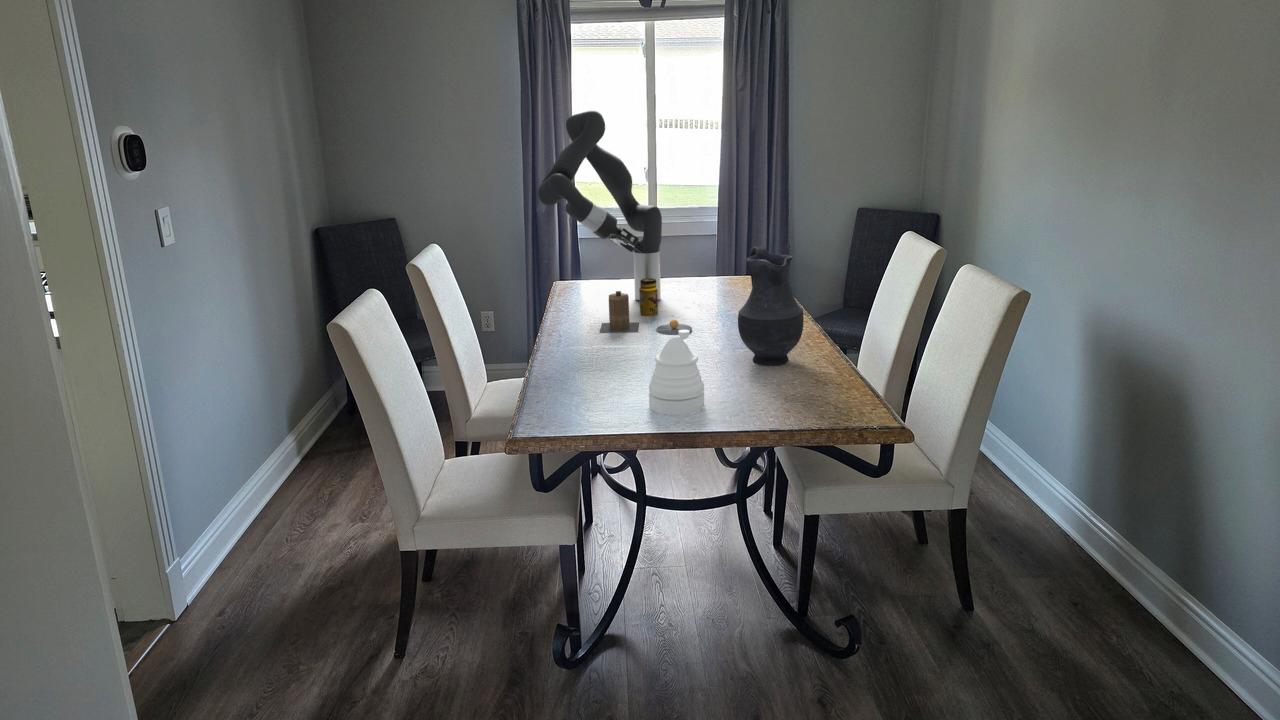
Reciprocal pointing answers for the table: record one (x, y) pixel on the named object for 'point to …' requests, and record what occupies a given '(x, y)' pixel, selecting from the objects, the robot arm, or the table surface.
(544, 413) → the table surface
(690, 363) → the honey pot
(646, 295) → the condiment
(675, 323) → the ball
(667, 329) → the grey round disc
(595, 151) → the robot arm
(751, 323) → the pitcher
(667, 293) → the table surface
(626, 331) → the mat
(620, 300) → the canister
